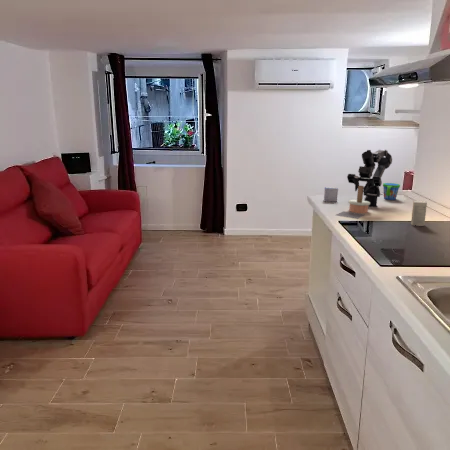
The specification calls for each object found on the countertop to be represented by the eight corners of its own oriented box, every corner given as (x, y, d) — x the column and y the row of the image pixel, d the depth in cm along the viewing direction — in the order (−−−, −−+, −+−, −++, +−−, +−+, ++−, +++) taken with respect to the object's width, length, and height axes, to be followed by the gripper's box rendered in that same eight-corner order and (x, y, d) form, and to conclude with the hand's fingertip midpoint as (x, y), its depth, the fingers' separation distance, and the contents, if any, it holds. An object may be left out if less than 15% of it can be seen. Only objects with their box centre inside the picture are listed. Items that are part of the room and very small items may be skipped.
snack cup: (385, 196, 300) (387, 181, 297) (401, 198, 294) (403, 183, 291) (377, 199, 288) (379, 184, 285) (393, 202, 282) (395, 186, 279)
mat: (343, 212, 249) (343, 211, 249) (365, 215, 242) (365, 214, 242) (335, 216, 239) (335, 215, 239) (357, 219, 232) (357, 218, 232)
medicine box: (336, 200, 282) (337, 187, 280) (337, 201, 278) (338, 188, 276) (323, 200, 283) (324, 186, 281) (324, 201, 278) (325, 188, 276)
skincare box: (423, 224, 226) (426, 201, 223) (424, 226, 222) (427, 203, 219) (410, 223, 228) (413, 200, 225) (410, 225, 224) (413, 201, 221)
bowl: (364, 210, 256) (365, 201, 255) (369, 214, 246) (370, 205, 245) (347, 209, 256) (348, 201, 255) (352, 213, 246) (352, 204, 245)
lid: (366, 201, 256) (368, 184, 253) (373, 205, 244) (375, 188, 242) (346, 200, 256) (347, 184, 253) (351, 205, 244) (353, 187, 242)
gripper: (349, 159, 252) (340, 180, 246) (382, 162, 242) (374, 184, 236) (353, 171, 260) (344, 192, 255) (385, 175, 250) (377, 196, 244)
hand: (359, 191), depth 247 cm, fingers open, 4 cm apart
